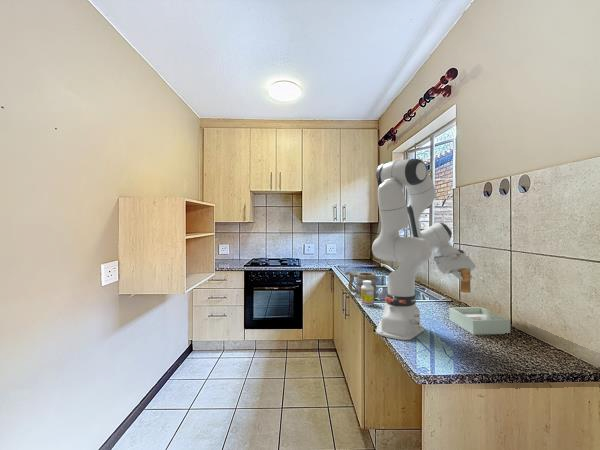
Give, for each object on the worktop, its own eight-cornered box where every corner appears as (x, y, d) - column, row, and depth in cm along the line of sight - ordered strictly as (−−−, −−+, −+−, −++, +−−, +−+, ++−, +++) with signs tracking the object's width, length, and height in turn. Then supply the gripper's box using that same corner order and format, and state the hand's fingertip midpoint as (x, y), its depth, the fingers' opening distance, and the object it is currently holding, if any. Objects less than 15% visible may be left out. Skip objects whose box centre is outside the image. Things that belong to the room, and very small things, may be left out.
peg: (470, 293, 131) (470, 270, 131) (460, 291, 133) (459, 269, 133) (470, 291, 134) (470, 269, 134) (460, 290, 136) (460, 268, 136)
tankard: (380, 295, 180) (379, 271, 179) (373, 300, 169) (372, 274, 169) (349, 292, 191) (349, 269, 190) (341, 296, 180) (341, 272, 180)
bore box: (510, 333, 117) (510, 319, 117) (473, 334, 116) (473, 320, 116) (481, 318, 135) (481, 306, 135) (449, 319, 134) (449, 307, 134)
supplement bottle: (359, 302, 165) (359, 280, 165) (371, 302, 165) (370, 279, 165) (363, 306, 158) (363, 282, 158) (375, 305, 159) (375, 282, 159)
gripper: (436, 252, 136) (454, 276, 127) (466, 250, 144) (486, 273, 135) (428, 260, 140) (446, 284, 131) (458, 258, 148) (476, 281, 139)
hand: (466, 279), depth 133 cm, fingers closed on peg, 4 cm apart
